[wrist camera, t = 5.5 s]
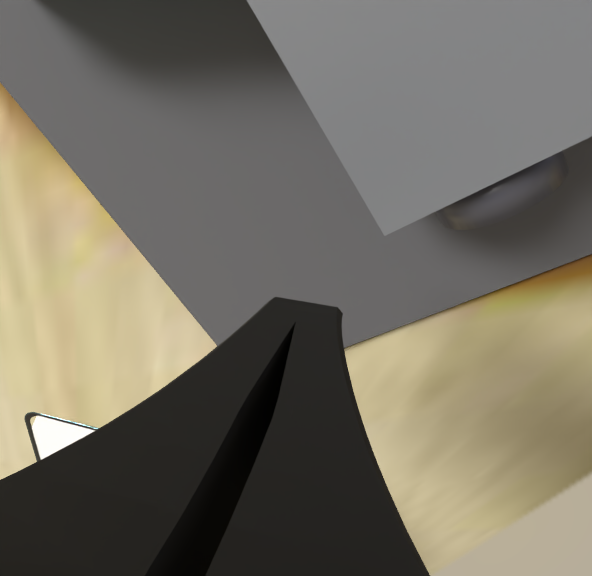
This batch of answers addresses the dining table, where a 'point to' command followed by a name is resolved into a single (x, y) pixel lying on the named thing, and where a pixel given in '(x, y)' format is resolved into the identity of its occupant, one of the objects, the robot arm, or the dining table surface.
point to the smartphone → (53, 433)
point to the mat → (249, 170)
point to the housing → (442, 98)
